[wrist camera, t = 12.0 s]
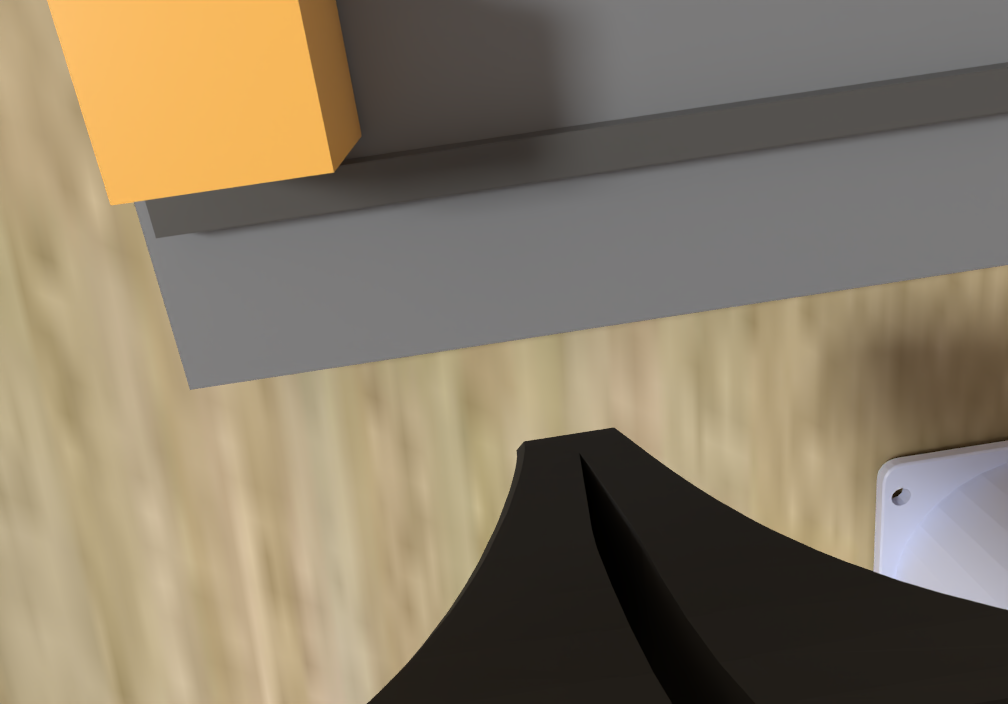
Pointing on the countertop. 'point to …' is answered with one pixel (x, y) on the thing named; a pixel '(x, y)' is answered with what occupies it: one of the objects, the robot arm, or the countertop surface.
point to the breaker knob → (208, 91)
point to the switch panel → (600, 176)
